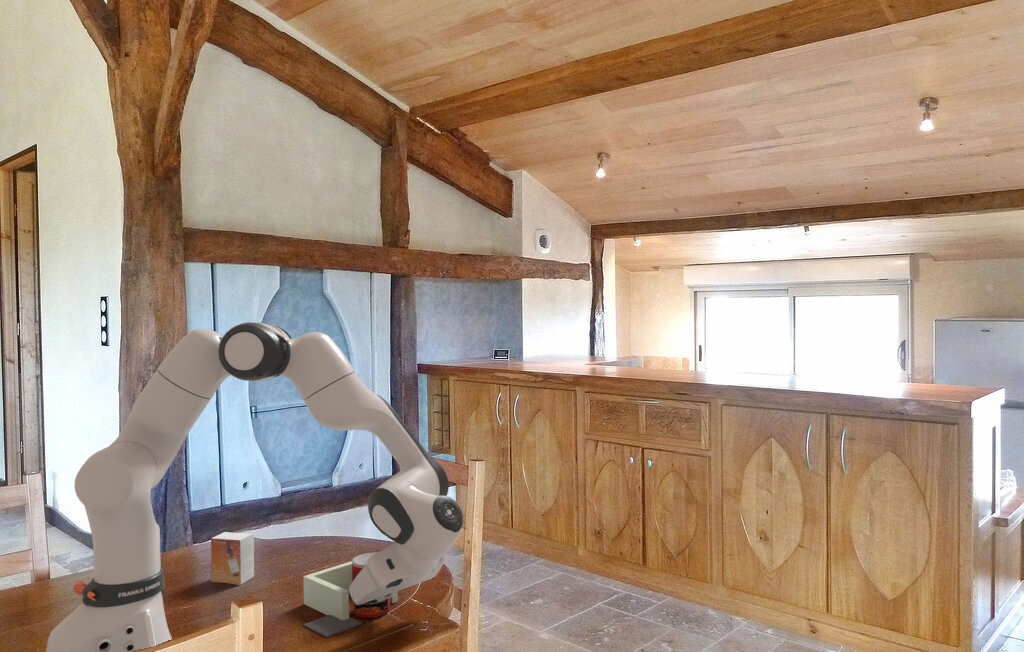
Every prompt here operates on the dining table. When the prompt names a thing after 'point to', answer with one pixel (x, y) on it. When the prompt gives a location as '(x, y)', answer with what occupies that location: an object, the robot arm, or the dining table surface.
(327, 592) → the dock
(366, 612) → the canned food
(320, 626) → the mat
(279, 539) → the dining table surface
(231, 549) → the small box
